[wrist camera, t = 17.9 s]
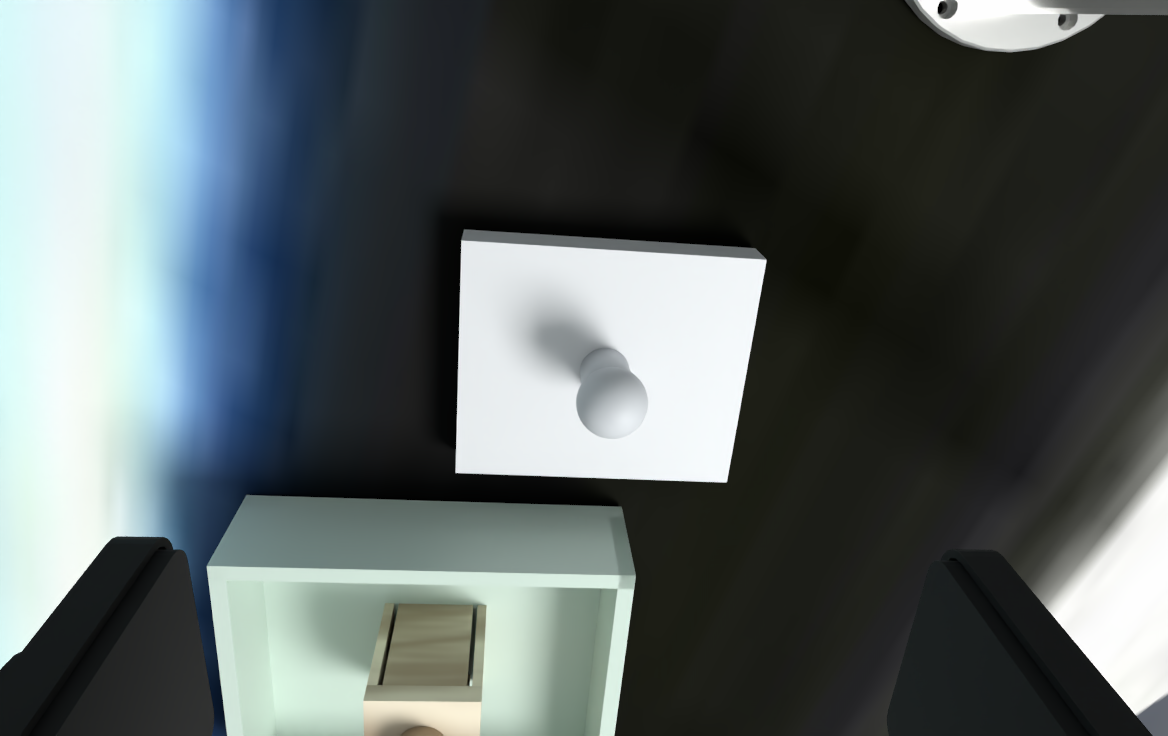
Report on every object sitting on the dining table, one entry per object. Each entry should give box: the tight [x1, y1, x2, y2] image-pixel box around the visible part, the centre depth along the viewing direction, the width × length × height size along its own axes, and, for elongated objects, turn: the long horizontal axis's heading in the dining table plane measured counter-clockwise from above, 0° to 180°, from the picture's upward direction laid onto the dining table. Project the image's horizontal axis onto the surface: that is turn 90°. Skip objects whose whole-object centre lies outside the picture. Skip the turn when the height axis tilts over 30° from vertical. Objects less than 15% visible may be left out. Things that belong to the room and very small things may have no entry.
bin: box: [207, 495, 636, 736], centre depth 45 cm, size 20×18×6 cm
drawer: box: [363, 603, 487, 736], centre depth 43 cm, size 6×6×8 cm
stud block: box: [456, 229, 766, 482], centre depth 38 cm, size 14×12×7 cm
